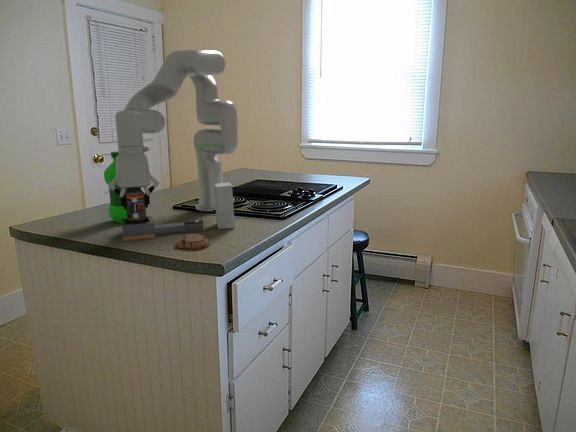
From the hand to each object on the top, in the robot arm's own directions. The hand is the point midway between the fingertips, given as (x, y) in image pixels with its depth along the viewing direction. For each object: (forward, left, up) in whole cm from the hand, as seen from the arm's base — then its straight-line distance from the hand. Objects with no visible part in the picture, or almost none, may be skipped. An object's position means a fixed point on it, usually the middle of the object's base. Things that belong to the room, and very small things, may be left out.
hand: (135, 207), depth 148 cm
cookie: (-15, +16, -10) cm, 24 cm away
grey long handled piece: (-8, 0, -9) cm, 13 cm away
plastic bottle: (+4, -21, -10) cm, 23 cm away
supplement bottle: (0, 0, -4) cm, 4 cm away
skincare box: (-29, -1, -10) cm, 31 cm away
